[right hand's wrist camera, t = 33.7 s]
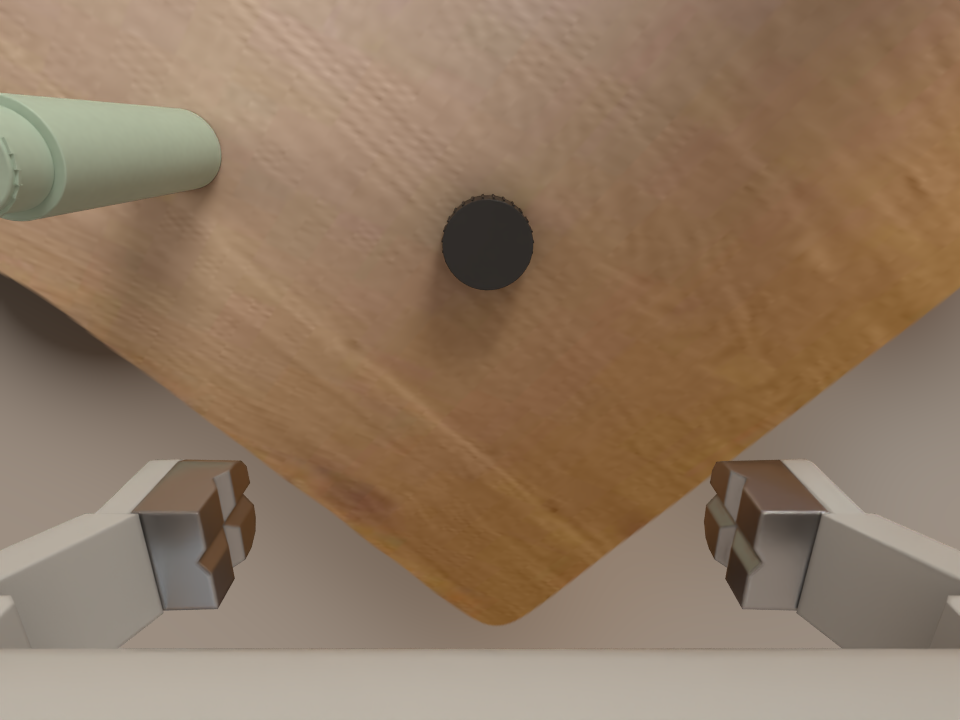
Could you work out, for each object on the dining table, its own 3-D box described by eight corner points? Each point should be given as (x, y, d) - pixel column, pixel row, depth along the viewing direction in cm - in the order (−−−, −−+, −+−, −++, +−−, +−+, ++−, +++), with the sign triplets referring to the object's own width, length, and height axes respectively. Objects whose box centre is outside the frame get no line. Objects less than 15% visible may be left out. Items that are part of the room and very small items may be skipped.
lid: (490, 174, 33) (490, 176, 31) (549, 241, 35) (553, 248, 32) (425, 236, 35) (421, 243, 32) (484, 299, 36) (485, 309, 34)
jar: (164, 198, 34) (-68, 244, 19) (130, 120, 32) (-151, 108, 18) (233, 178, 33) (47, 211, 19) (202, 99, 32) (-26, 69, 18)
